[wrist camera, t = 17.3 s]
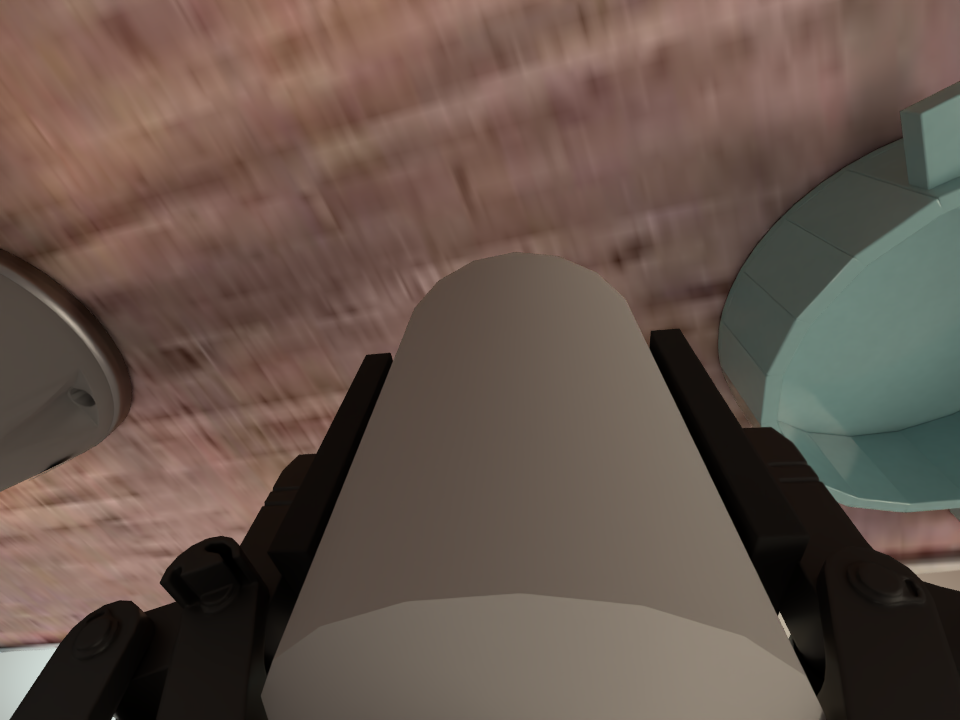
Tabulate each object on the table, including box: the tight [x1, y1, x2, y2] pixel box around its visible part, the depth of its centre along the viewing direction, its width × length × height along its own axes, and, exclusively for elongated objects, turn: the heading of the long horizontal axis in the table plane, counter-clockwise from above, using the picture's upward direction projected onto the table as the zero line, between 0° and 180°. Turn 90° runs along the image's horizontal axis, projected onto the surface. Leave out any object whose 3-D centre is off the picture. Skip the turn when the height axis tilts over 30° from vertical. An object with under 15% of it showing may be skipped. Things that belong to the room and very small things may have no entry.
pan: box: [718, 81, 960, 521], centre depth 21 cm, size 17×23×6 cm
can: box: [261, 252, 826, 720], centre depth 10 cm, size 8×8×12 cm
